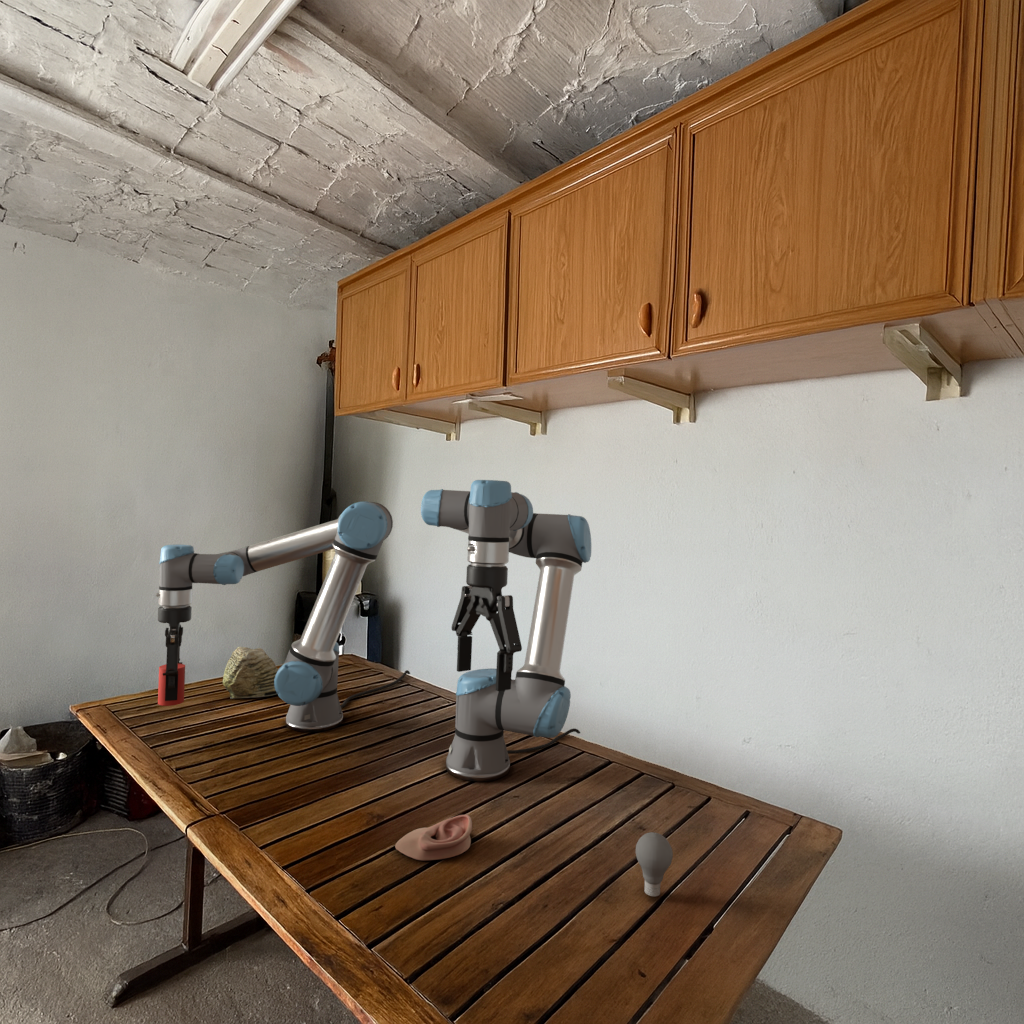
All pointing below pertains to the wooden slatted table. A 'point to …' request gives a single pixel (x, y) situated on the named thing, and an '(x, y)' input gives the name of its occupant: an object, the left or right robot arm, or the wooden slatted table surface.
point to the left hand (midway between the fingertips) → (171, 696)
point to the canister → (163, 682)
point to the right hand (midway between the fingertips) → (482, 679)
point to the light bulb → (653, 860)
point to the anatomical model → (438, 839)
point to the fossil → (250, 674)
